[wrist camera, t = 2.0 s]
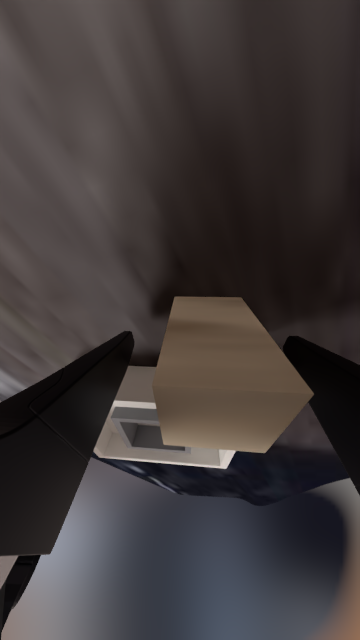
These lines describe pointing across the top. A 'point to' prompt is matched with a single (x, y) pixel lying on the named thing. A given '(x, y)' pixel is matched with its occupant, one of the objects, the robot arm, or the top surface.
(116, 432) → the walled tray
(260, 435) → the block
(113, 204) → the top surface
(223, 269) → the top surface
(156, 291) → the top surface
